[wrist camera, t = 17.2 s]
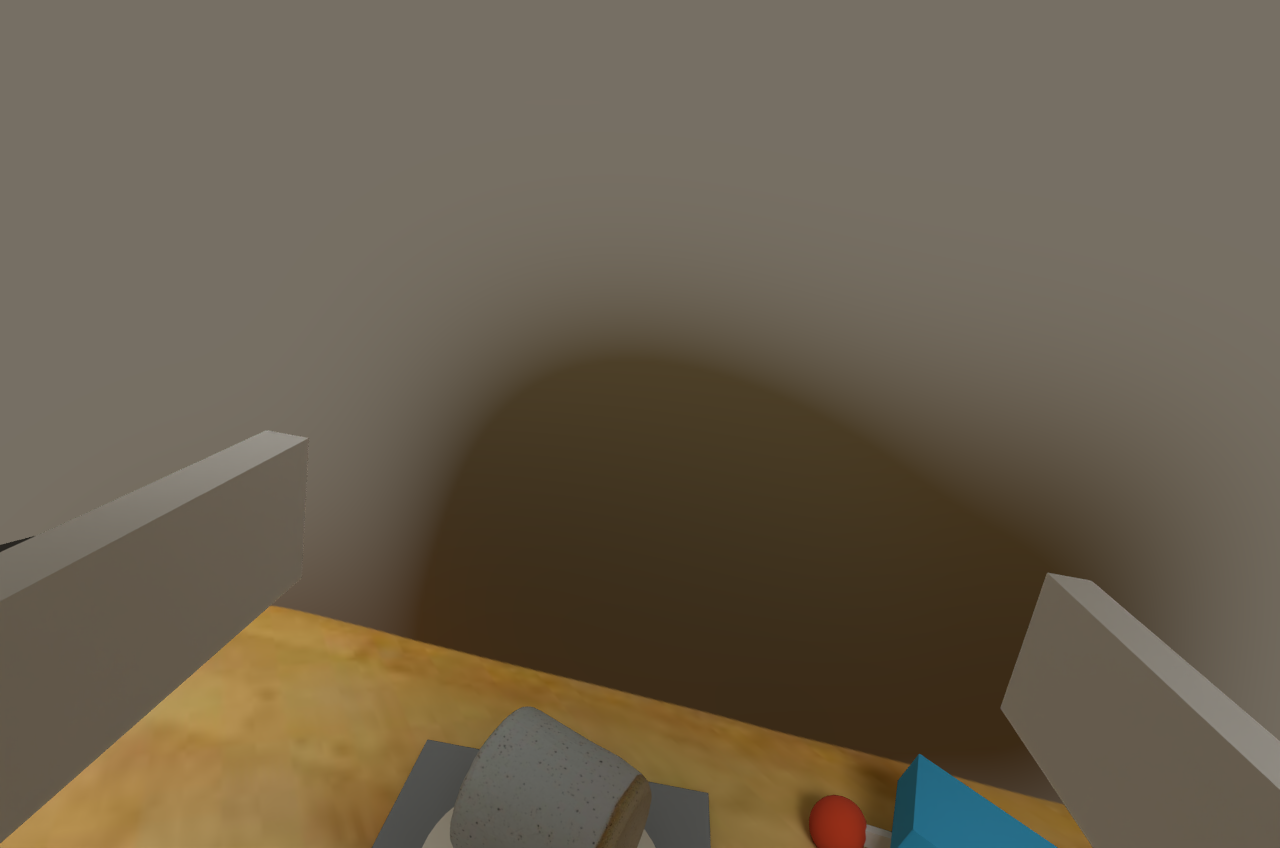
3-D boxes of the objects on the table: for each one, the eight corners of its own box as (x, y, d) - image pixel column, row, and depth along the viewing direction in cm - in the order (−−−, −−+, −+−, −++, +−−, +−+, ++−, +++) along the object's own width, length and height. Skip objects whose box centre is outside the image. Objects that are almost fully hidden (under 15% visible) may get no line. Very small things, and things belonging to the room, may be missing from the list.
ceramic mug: (581, 969, 33) (609, 832, 31) (437, 883, 36) (455, 752, 34) (665, 819, 43) (691, 707, 41) (547, 760, 45) (565, 653, 44)
